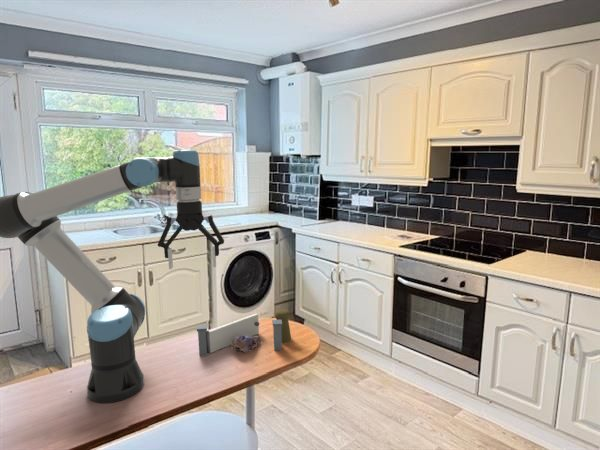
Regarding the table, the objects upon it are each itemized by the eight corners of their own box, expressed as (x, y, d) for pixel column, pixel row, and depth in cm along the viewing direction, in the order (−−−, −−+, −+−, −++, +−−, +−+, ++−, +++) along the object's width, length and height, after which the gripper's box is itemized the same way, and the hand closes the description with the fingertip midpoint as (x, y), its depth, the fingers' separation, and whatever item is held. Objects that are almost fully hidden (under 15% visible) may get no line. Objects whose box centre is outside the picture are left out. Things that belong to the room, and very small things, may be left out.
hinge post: (198, 356, 141) (196, 329, 140) (199, 351, 145) (197, 324, 143) (208, 355, 142) (206, 328, 140) (208, 351, 145) (207, 324, 144)
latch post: (273, 351, 144) (272, 324, 143) (272, 346, 148) (272, 320, 146) (282, 350, 145) (282, 323, 143) (282, 345, 148) (281, 319, 147)
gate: (210, 355, 142) (209, 333, 141) (206, 352, 144) (205, 331, 142) (261, 334, 158) (260, 314, 156) (256, 332, 159) (256, 312, 158)
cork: (273, 336, 156) (272, 308, 154) (289, 335, 157) (289, 307, 155) (275, 343, 150) (275, 314, 148) (292, 342, 151) (291, 313, 149)
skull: (253, 340, 153) (253, 324, 152) (268, 346, 148) (267, 330, 147) (227, 352, 144) (226, 335, 143) (242, 359, 139) (241, 341, 138)
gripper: (144, 203, 125) (149, 272, 129) (229, 200, 128) (232, 268, 132) (150, 200, 132) (155, 265, 136) (230, 198, 135) (232, 262, 139)
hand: (193, 267), depth 134 cm, fingers open, 13 cm apart
